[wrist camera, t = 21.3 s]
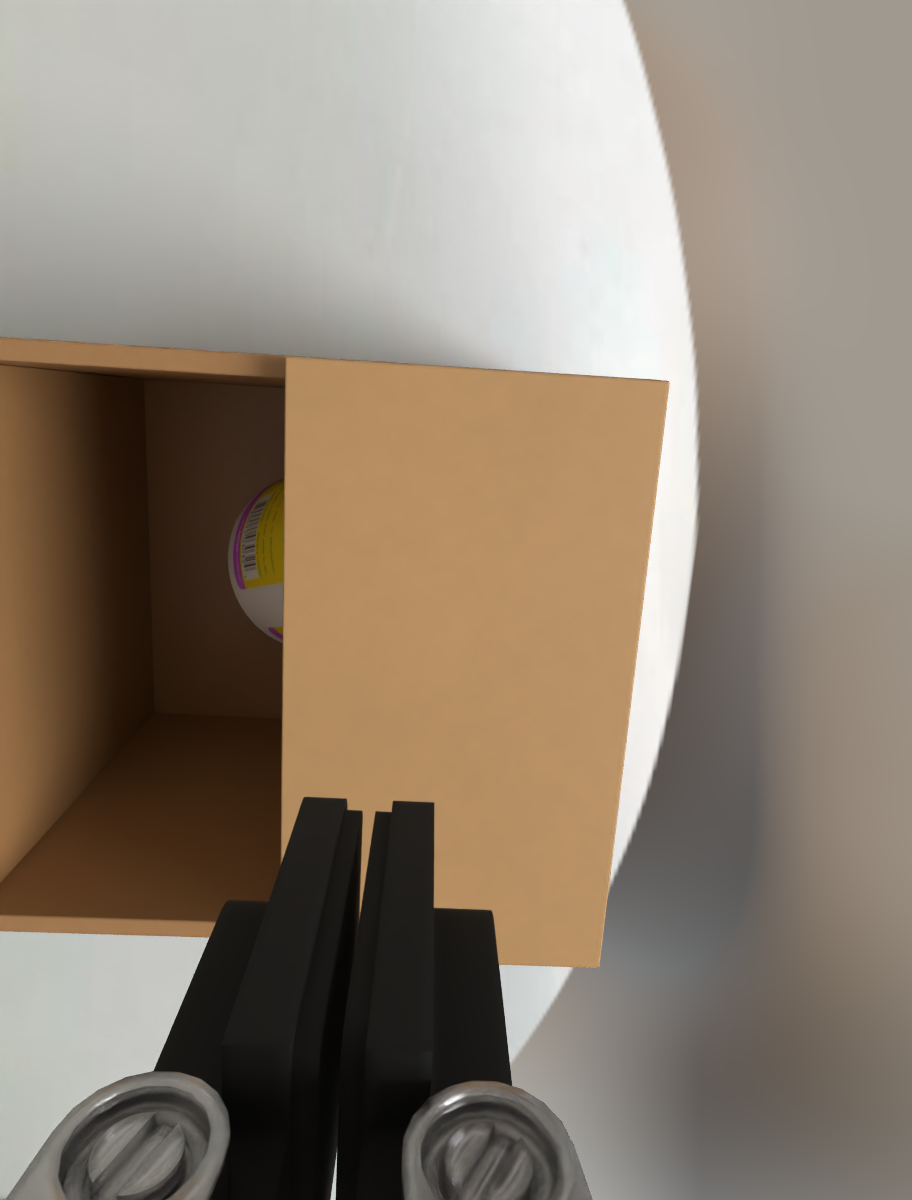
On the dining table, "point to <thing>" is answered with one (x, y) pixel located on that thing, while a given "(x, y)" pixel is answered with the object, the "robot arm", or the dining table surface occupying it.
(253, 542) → the supplement bottle
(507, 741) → the flap
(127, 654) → the carton
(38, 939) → the dining table surface
